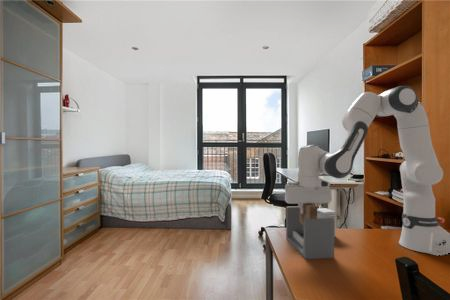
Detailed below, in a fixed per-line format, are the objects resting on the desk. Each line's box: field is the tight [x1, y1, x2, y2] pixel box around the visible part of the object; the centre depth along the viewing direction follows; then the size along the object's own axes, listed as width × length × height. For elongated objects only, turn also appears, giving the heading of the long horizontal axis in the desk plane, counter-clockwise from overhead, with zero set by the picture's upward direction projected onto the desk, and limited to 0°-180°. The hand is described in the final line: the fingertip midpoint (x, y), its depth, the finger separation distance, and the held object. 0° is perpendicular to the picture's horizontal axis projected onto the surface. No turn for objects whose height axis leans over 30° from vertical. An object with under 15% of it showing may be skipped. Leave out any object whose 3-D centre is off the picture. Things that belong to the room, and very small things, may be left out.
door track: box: [285, 205, 335, 260], centre depth 109 cm, size 22×12×16 cm, turn 5°
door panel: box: [299, 203, 318, 225], centre depth 109 cm, size 12×3×10 cm, turn 5°
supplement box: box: [317, 207, 337, 238], centre depth 124 cm, size 7×7×13 cm
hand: (307, 213), depth 109 cm, fingers closed on door panel, 3 cm apart
